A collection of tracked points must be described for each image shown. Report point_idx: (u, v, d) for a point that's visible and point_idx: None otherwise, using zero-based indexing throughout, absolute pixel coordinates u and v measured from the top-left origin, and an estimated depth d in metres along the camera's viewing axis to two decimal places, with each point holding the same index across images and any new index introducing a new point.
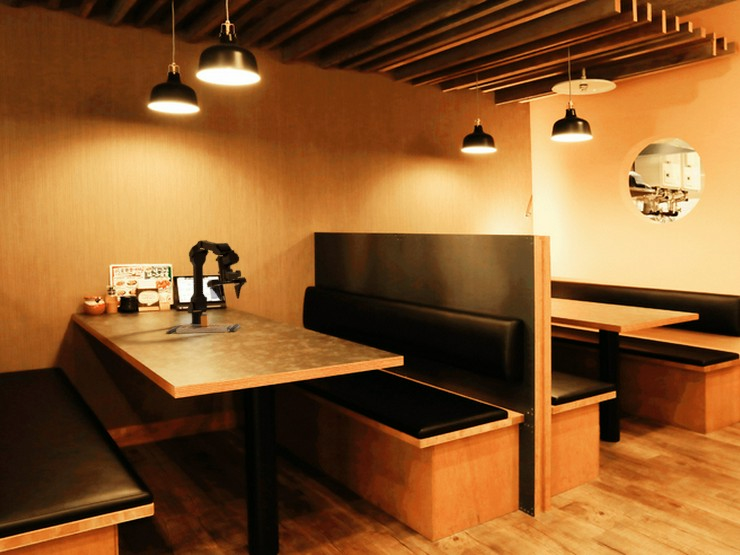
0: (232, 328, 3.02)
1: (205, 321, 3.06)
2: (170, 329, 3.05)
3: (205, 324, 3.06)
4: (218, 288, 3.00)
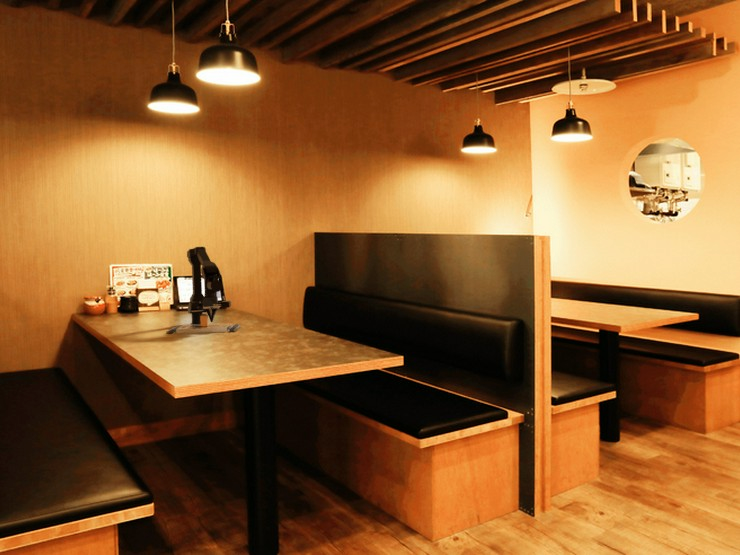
0: (232, 328, 3.02)
1: (205, 321, 3.06)
2: (170, 329, 3.05)
3: (205, 324, 3.06)
4: (207, 311, 3.06)
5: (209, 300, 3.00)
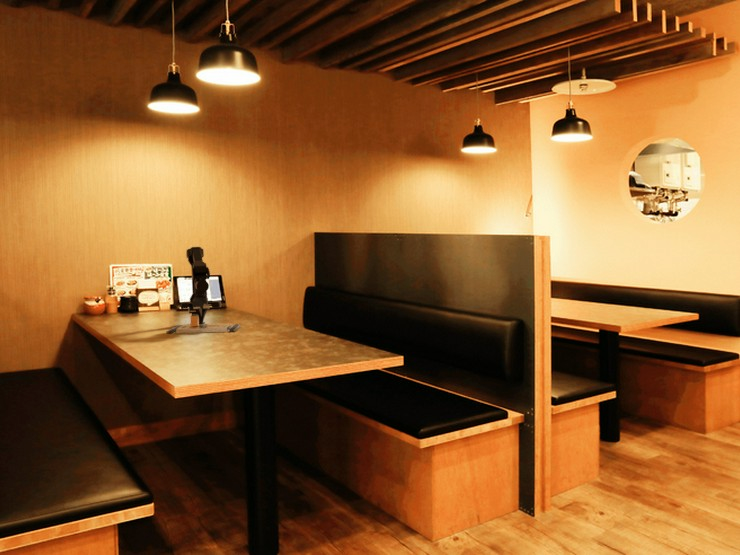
0: (232, 328, 3.02)
1: (195, 321, 3.06)
2: (170, 329, 3.05)
3: (195, 324, 3.06)
4: (197, 311, 3.06)
5: (199, 300, 3.00)
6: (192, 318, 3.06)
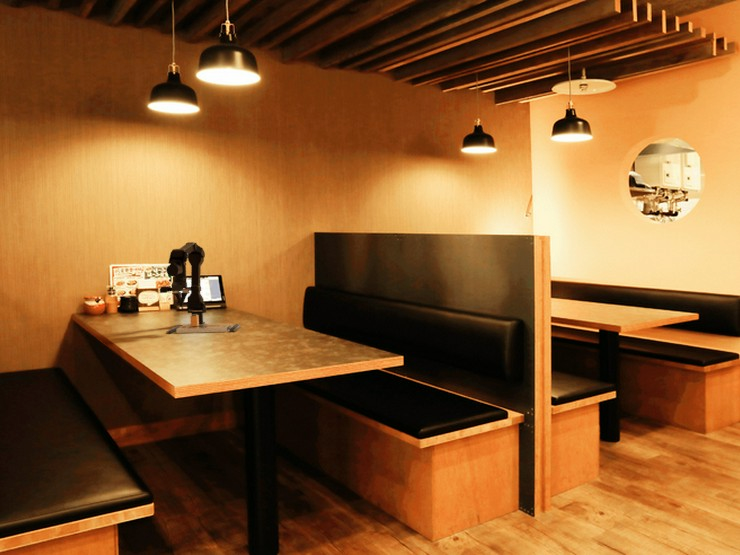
0: (232, 328, 3.02)
1: (195, 321, 3.06)
2: (170, 329, 3.05)
3: (195, 324, 3.06)
4: (176, 295, 3.05)
5: (178, 284, 2.99)
6: (192, 318, 3.06)
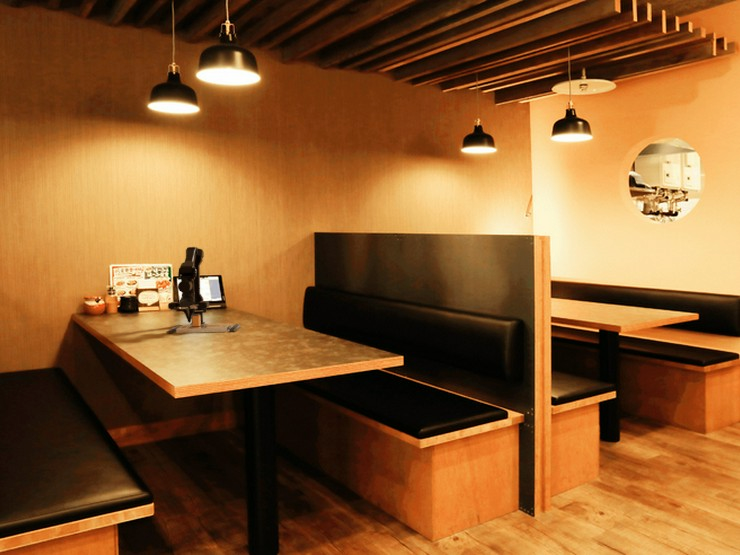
0: (232, 328, 3.02)
1: (197, 321, 3.06)
2: (170, 329, 3.05)
3: (197, 324, 3.06)
4: (184, 311, 3.05)
5: (186, 300, 2.99)
6: (194, 318, 3.06)
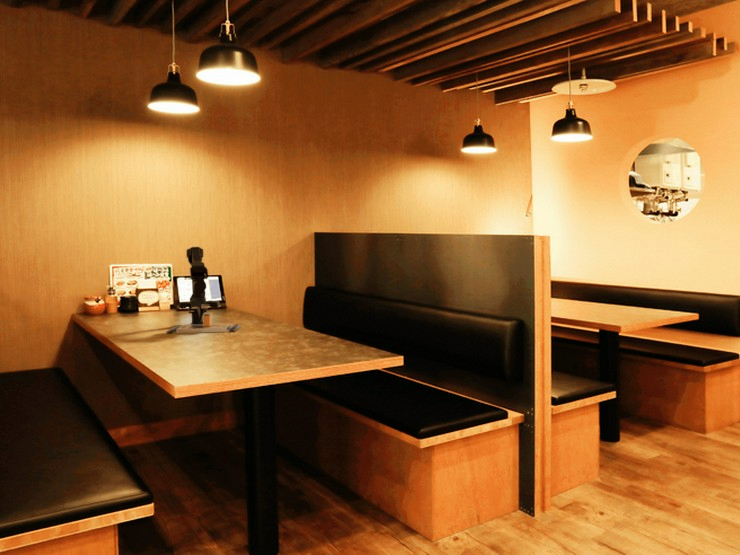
0: (232, 328, 3.02)
1: (207, 321, 3.06)
2: (170, 329, 3.05)
3: (207, 324, 3.06)
4: (195, 311, 3.06)
5: (197, 300, 3.00)
6: (205, 318, 3.06)
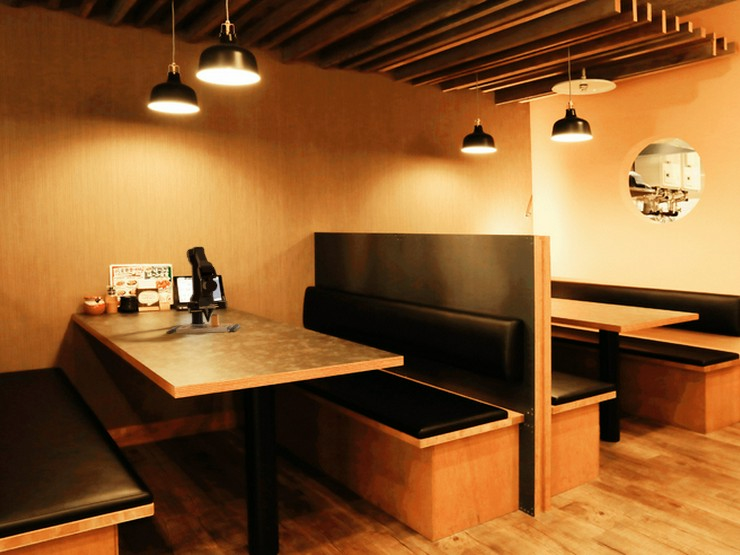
0: (232, 328, 3.02)
1: (215, 321, 3.06)
2: (170, 329, 3.05)
3: (215, 324, 3.06)
4: (203, 311, 3.06)
5: (205, 300, 3.00)
6: (213, 317, 3.06)
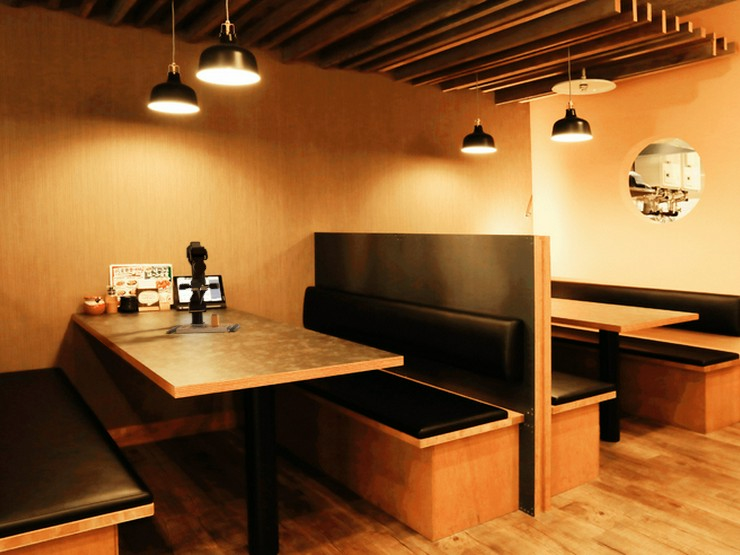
0: (232, 328, 3.02)
1: (215, 321, 3.06)
2: (170, 329, 3.05)
3: (215, 324, 3.06)
4: (195, 292, 3.05)
5: (197, 281, 2.99)
6: (213, 317, 3.06)
